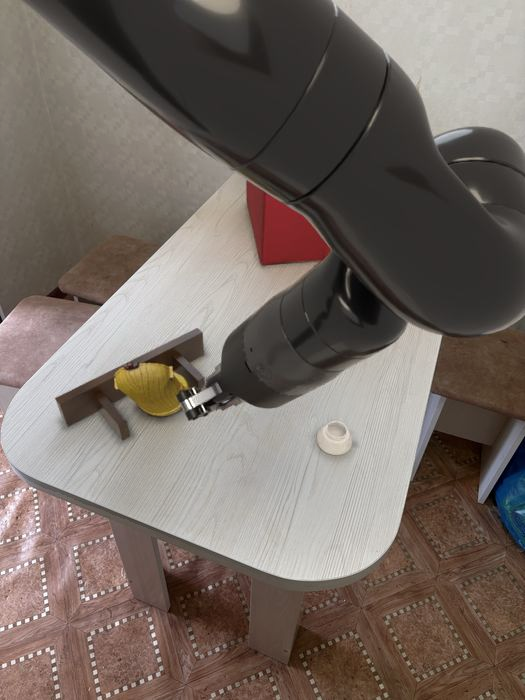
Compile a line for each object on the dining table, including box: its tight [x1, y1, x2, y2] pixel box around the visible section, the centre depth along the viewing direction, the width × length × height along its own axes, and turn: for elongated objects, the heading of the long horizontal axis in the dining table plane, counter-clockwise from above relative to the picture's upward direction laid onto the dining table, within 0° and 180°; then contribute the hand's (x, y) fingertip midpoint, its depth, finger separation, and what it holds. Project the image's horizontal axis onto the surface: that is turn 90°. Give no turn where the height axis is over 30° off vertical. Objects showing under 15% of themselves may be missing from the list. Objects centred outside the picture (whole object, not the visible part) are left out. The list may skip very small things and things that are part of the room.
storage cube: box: [245, 179, 331, 266], centre depth 105 cm, size 32×28×29 cm
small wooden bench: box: [54, 327, 206, 441], centre depth 75 cm, size 24×8×5 cm, turn 131°
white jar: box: [316, 420, 353, 456], centre depth 71 cm, size 5×3×5 cm
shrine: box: [114, 361, 190, 418], centre depth 70 cm, size 12×8×15 cm
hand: (201, 405), depth 53 cm, fingers closed
